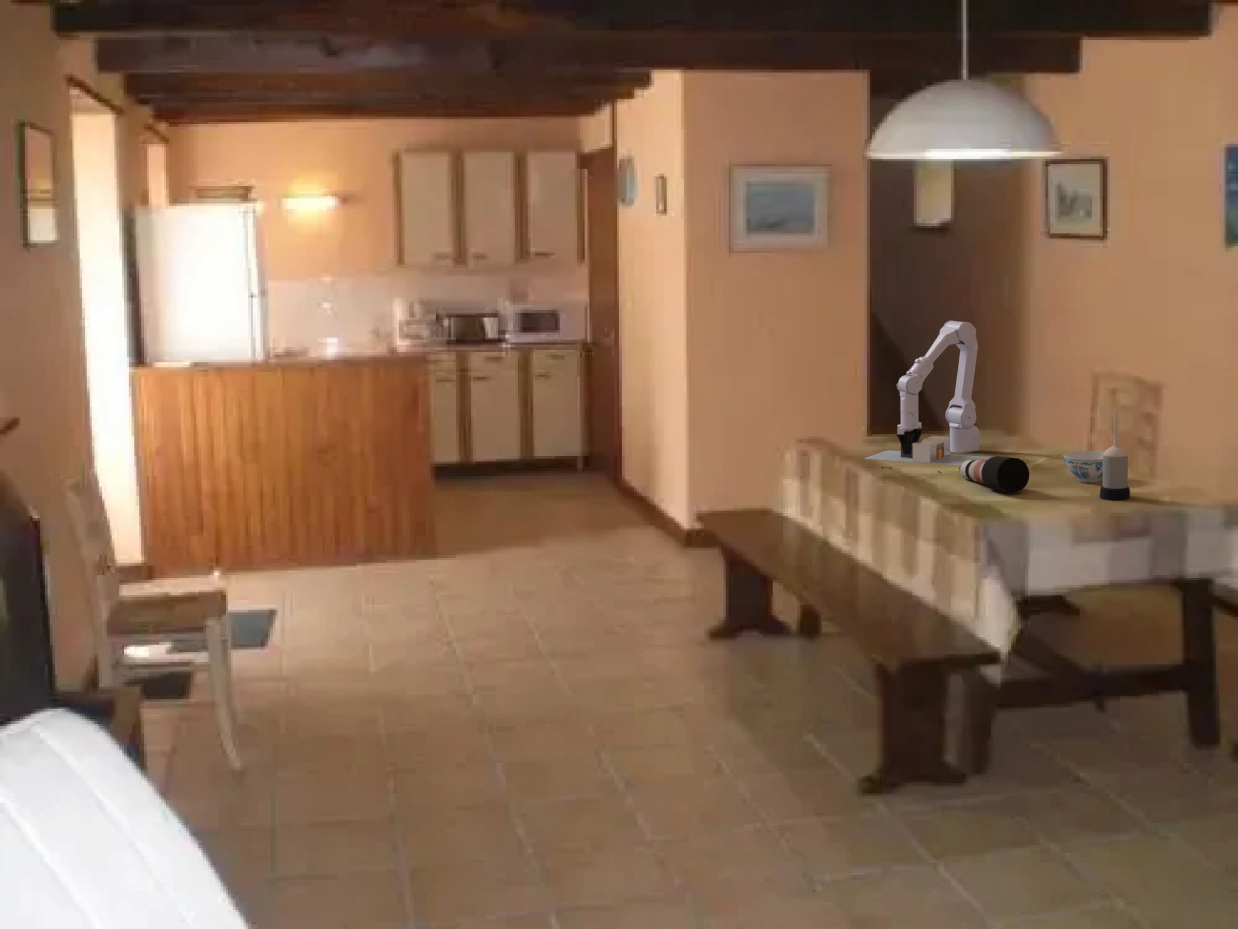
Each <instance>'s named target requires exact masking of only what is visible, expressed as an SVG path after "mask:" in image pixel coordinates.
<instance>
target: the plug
mask: <svg viewBox="0 0 1238 929" xmlns="http://www.w3.org/2000/svg"><path fill="white" fill-rule="evenodd" d="M900 451H901V457H907V458H913V444H911V452H910V454H903V450H902V446H901V445H900ZM941 458H942V449H936V459H941Z"/></svg>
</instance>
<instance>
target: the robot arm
mask: <svg viewBox="0 0 1238 929" xmlns="http://www.w3.org/2000/svg"><path fill="white" fill-rule="evenodd" d="M976 334H977V328H975V326H974V325H973V324H972V323H970V322H968V321H955V320H948V321H946V322H945V323H944V325H943V327H941V328H940V329H939V334H938V336H937V338H935V340H934V341H933V344H932V345H931V346H930V348H929V349H928V351H927V352H926V353H925V355H924V356H920V357H918V358H916V359H915V360H914V364H913V365H912V366H911V367H910V368H909V370H907V371H906V374H905V375H902V376H901V377H900V378H899V380H898V382H897V383H896V389H897V390H898V391H899V397H900V424H897V426H896V427H897V430H896V431H897V432H896V437H897V439H898V440H899V441H898V442H900V447H901V446H902V450H903V454H910V452H911V444H913V443H914V442H917V441H920V438H921V436H922V434H923V430H922V422H920V421H919V392H920V391H921V390H922V388H923V384H924V381H925V379H926V378H927V377H928V375H929V374H930V373H931V371H932V370H933V369H934V362H935V361H936V360H937V359H938V357H940V355H941V354H942V353H943V352H944V351H945V350H946V348H947V347H948V346H951V345H956V347H957V348H958V349H959V350H960V352H959V359H958V360H959V361H958V366H957V367H958V369H957V372H956V374H957V375H956V383H955V390H954V397H953V398H952V399H951V400H950V401H949V404H948V406H947V409H946V411H945V419H946V421H947V423H948V424H949V425H948V426H949V437H950V453H957V454H959V453H961V454H962V453H964V454H965V453H971V452H977V451H980V450H981V447H980V446H981V445H980V444H981V442H980V440H981V439H980V437H981V435H980V430H979V428H978V427H977V426H976V425H974V424H975V423H976V422H977V412H976V403H975V402H974V401H973V399H972V395H973V389H974V388H973V387H974V379H975V374H976V373H975V372H976V363H977V357H978V349H979V344H978V339H977V335H976Z"/></svg>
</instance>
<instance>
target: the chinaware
mask: <svg viewBox="0 0 1238 929" xmlns="http://www.w3.org/2000/svg"><path fill="white" fill-rule="evenodd" d="M1104 452H1105V451H1100V450H1083V451H1082V450H1080V451H1078V450H1076V451H1070V452H1065V453H1064V454H1063V460H1064V464H1065V467H1066V468H1067V470H1068V471H1069V472H1070V473H1071V474H1072V475H1073V476H1075V477H1076V478H1077V482H1080V483H1100V482H1101V481H1102V479H1103V454H1104Z"/></svg>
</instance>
